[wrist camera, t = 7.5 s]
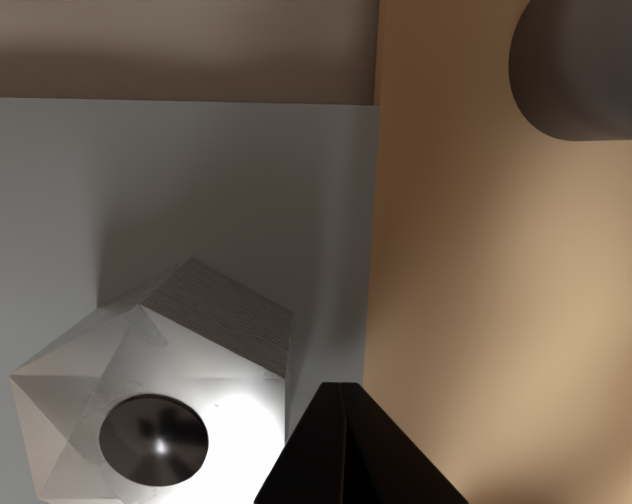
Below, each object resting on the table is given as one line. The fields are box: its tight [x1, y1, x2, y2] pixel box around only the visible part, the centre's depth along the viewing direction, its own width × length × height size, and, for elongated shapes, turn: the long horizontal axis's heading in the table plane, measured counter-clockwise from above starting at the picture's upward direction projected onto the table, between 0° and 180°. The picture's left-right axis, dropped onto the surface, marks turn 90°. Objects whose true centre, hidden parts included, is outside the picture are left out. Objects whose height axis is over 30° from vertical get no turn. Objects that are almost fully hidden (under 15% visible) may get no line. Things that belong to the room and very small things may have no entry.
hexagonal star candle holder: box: [9, 257, 292, 504], centre depth 7 cm, size 4×5×3 cm
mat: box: [0, 97, 380, 504], centre depth 9 cm, size 10×12×1 cm
